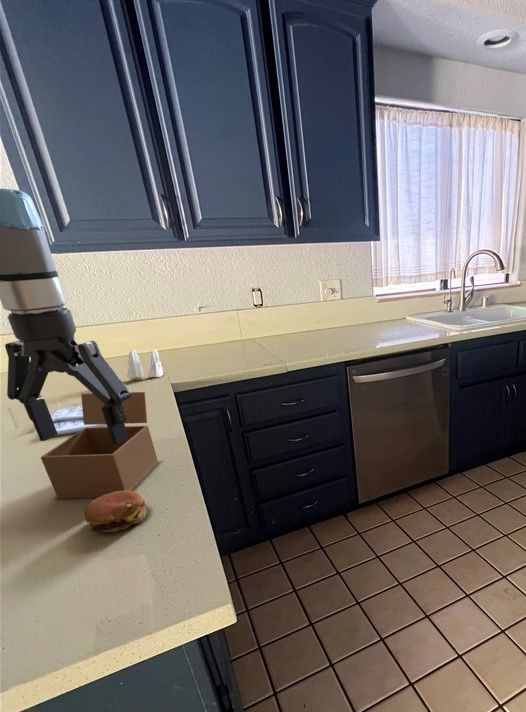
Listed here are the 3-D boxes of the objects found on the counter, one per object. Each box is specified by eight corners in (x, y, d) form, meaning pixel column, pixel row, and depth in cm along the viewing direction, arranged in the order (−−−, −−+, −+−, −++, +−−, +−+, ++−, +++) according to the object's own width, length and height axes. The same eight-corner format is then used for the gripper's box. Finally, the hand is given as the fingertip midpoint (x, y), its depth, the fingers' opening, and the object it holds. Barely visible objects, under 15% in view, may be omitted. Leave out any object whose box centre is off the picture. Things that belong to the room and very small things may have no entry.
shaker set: (129, 382, 155) (120, 352, 150) (128, 379, 158) (119, 350, 153) (164, 376, 161) (157, 347, 156) (163, 374, 164) (156, 345, 159)
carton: (57, 498, 86) (40, 457, 82) (98, 464, 99) (84, 427, 95) (126, 496, 86) (113, 455, 82) (158, 462, 99) (147, 425, 95)
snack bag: (128, 404, 135) (126, 397, 134) (118, 428, 118) (115, 421, 117) (58, 413, 129) (55, 407, 128) (35, 440, 112) (32, 433, 111)
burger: (106, 506, 83) (99, 486, 81) (155, 503, 84) (150, 483, 82) (78, 539, 74) (69, 517, 72) (133, 535, 75) (125, 514, 73)
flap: (80, 393, 94) (81, 393, 94) (83, 424, 95) (84, 424, 95) (144, 392, 94) (144, 392, 94) (146, 422, 95) (147, 422, 95)
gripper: (132, 305, 64) (166, 432, 73) (-10, 305, 68) (39, 427, 77) (94, 314, 57) (136, 453, 66) (-61, 313, 61) (-1, 445, 70)
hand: (84, 439), depth 72 cm, fingers open, 13 cm apart
